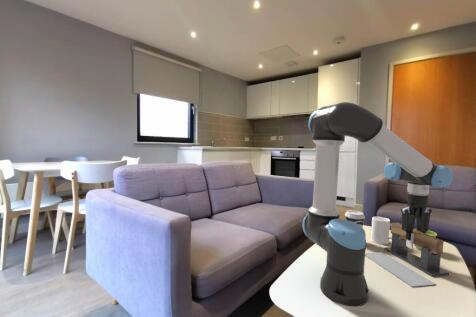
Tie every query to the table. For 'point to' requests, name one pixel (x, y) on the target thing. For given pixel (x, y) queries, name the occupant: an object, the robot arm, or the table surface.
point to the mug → (380, 230)
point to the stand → (425, 263)
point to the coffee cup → (355, 217)
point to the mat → (399, 270)
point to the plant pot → (429, 234)
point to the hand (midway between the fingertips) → (413, 246)
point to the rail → (420, 239)
